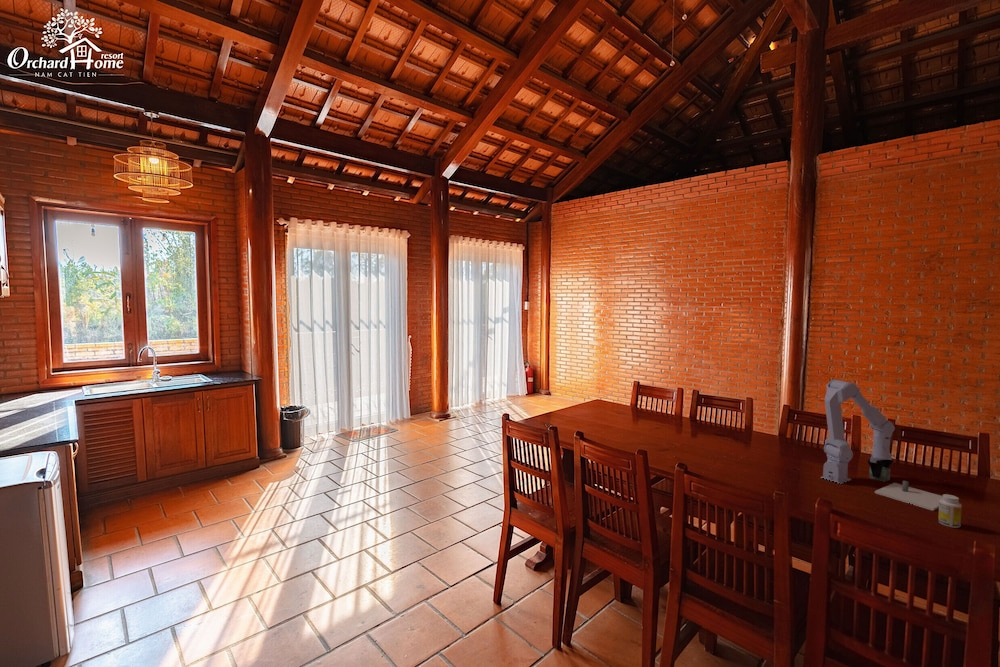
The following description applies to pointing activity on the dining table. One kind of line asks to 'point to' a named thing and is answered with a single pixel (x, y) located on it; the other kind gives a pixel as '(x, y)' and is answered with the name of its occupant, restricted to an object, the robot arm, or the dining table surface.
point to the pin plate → (911, 495)
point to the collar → (882, 474)
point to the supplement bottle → (950, 511)
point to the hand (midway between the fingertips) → (879, 475)
